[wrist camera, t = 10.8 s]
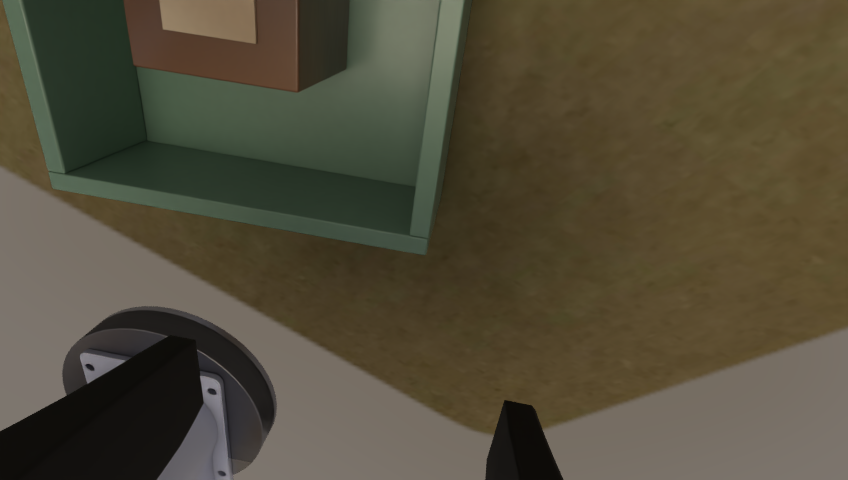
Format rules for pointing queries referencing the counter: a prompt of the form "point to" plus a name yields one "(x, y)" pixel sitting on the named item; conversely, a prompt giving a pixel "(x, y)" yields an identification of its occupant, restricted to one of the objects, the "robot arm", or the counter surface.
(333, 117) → the tray
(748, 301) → the counter surface
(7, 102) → the counter surface
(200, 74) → the letter block
